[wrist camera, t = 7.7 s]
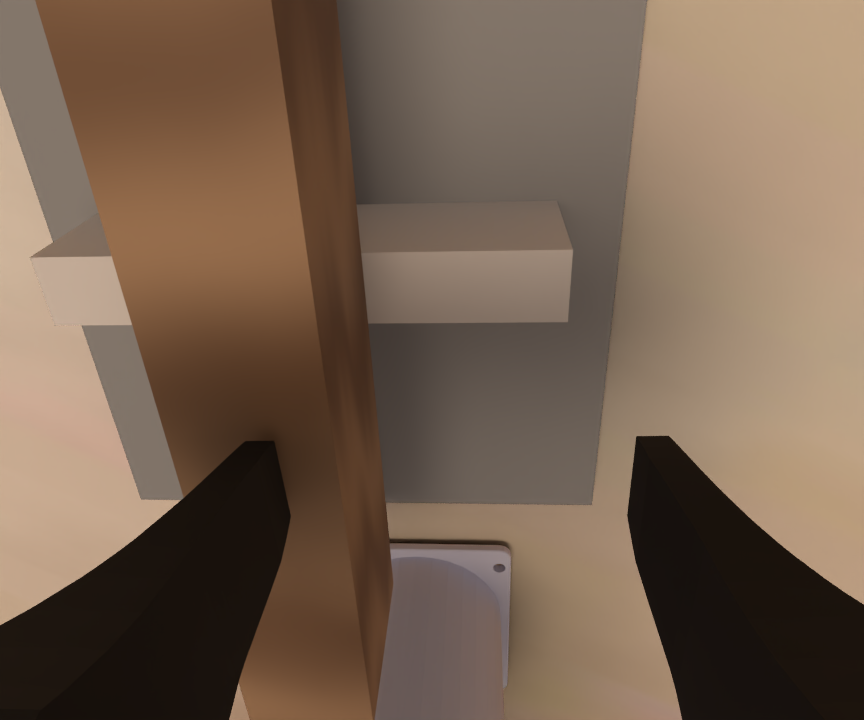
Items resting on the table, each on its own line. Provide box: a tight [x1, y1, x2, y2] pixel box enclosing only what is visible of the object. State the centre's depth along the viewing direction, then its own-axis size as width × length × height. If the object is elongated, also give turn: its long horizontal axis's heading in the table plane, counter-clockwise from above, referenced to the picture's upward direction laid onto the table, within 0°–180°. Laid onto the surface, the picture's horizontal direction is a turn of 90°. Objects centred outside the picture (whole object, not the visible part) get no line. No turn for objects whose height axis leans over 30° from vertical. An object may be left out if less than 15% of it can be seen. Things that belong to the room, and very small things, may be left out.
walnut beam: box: [35, 0, 393, 720], centre depth 15 cm, size 22×4×5 cm, turn 2°
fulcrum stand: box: [0, 0, 647, 505], centre depth 20 cm, size 22×18×5 cm
